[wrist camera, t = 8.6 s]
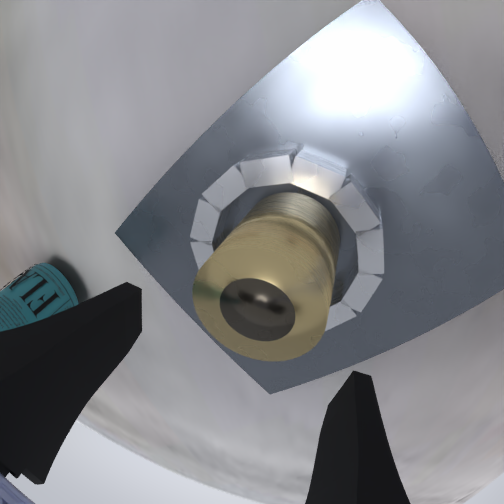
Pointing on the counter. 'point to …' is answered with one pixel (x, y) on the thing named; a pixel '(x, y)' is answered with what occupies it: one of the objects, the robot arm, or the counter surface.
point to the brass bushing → (271, 279)
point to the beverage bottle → (35, 297)
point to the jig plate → (343, 191)
